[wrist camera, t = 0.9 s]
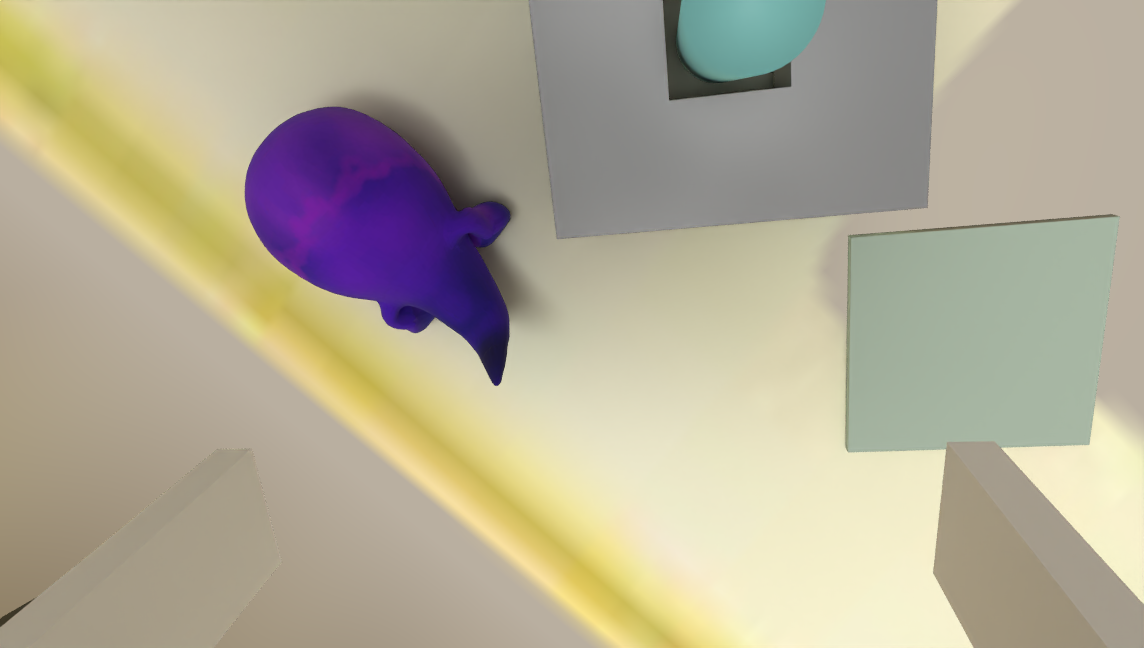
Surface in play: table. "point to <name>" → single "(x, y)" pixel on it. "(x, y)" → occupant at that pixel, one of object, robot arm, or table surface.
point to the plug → (743, 36)
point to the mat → (977, 333)
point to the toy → (377, 226)
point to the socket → (732, 121)
